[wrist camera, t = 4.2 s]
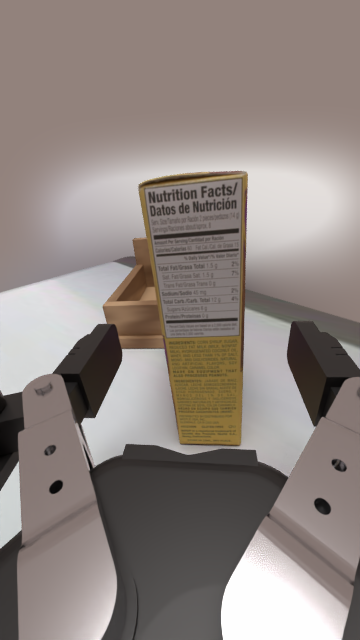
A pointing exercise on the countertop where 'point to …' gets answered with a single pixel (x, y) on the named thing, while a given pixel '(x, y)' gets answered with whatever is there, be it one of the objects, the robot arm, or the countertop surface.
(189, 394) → the candy box
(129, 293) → the brown wooden open box
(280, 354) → the countertop surface
